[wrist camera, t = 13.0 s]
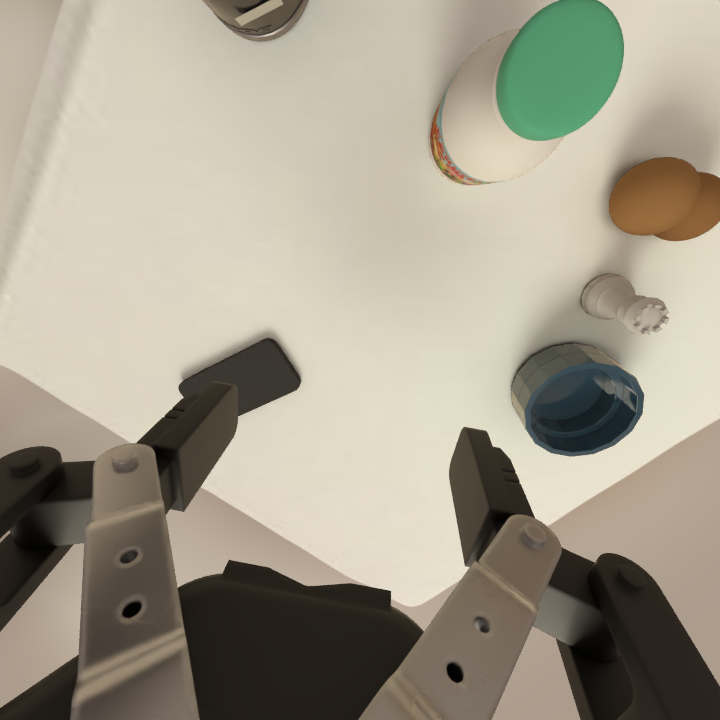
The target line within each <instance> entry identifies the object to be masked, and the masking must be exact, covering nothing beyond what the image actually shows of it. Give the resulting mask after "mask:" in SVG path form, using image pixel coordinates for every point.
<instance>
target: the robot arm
mask: <svg viewBox="0 0 720 720" xmlns="http://www.w3.org/2000/svg"><path fill="white" fill-rule="evenodd" d="M202 1H203V2H204V3H205V4H206V5H207V6H208V7H209V8H210V9H211V10H212V11H213V12H214V14H215V15H216V16H217V17H218V18H219V19H220V20H221V21H222V22H223V23H224V24H225V25H226V26H227V27H228V28H229V29H230V30H232V31H233V32H234V33H236V34H237V35H239V36H241V37H243V38H246V39H249V40H253V41H268V40H272V39H275V38H277V37H280V36H281V35H283V34H285V33H286V32H287V31H288V30H290V29H291V28H292V27H293V26H294V24H295V23H296V22H297V21H298V19H299V18H300V16H301V15H302V13H303V11H304V9H305V7H306V4H307V2H308V0H202ZM237 423H238V389H237V386H236V385H233V384H228V383H222V382H217V381H214V382H212V383H211V384H210V385H209V386H208V387H207V388H206V389H205V390H204V391H203V392H202V393H198V392H195V393H193V394H191V395H189V396H187V397H185V398H183V399H181V400H180V401H179V402H178V403H177V404H176V405H175V406H174V407H173V409H172V410H170V411H169V412H168V413H167V414H166V415H165V417H163V418H162V419H161V420H160V421H159V422H157V423H156V424H155V425H154V426H153V427H152V428H151V429H150V430H149V431H148V432H147V433H146V434H145V435H144V436H143V437H142V438H141V439H140V440H139V441H138V442H137V443H132V444H124V445H120V446H117V447H114V448H112V449H110V450H108V451H106V452H105V453H103V454H102V455H101V456H99V457H98V458H97V460H96V461H82V462H62V458H61V454H60V453H59V451H57V450H56V449H54V448H51V447H45V446H41V447H40V446H39V447H30V448H25V449H22V450H19V451H15V452H13V453H10V454H8V455H6V456H4V457H2V458H1V459H0V538H1V537H2V536H3V535H4V534H5V533H6V532H7V531H9V530H10V532H11V533H10V534H9V535H8V536H7V537H6V538H5V539H4V540H3V541H2V542H1V543H0V631H1V630H2V629H3V628H4V627H5V626H6V624H7V623H8V622H9V621H10V620H11V618H12V617H13V616H14V615H15V614H16V612H17V611H18V610H19V609H20V608H21V606H22V605H23V604H24V603H25V602H26V601H27V599H28V598H29V597H30V596H31V595H32V593H33V592H34V591H35V590H36V589H37V587H38V586H39V585H40V584H41V583H42V582H43V580H44V579H45V578H46V577H47V576H48V574H49V573H50V572H51V571H52V570H53V568H54V567H55V566H56V565H57V564H58V562H59V561H60V560H61V559H62V558H63V556H64V555H65V554H66V553H67V552H68V551H69V549H70V548H71V547H72V546H73V545H74V544H80V543H84V561H83V581H82V601H81V621H80V639H79V655H77V656H76V657H75V658H73V659H72V660H70V661H69V662H67V663H66V664H64V665H63V666H61V667H60V668H58V669H57V670H55V671H54V672H52V673H51V674H49V676H47V677H45V678H44V679H42V680H41V681H39V682H38V683H36V684H35V685H33V686H32V687H30V688H29V689H28V690H26V691H25V692H23V693H22V694H20V695H19V696H17V697H16V698H14V699H13V700H11V701H10V702H9V703H7V704H6V705H4V706H3V707H1V708H0V720H491V719H492V717H493V715H494V712H495V710H496V708H497V706H498V703H499V701H500V699H501V696H502V694H503V692H504V690H505V687H506V685H507V683H508V680H509V678H510V676H511V674H512V671H513V669H514V667H515V664H516V662H517V660H518V657H519V655H520V653H521V651H522V649H523V646H524V644H525V641H526V639H527V637H528V635H529V633H530V630H531V628H532V626H533V627H535V628H537V629H539V630H541V631H543V632H545V633H547V634H549V635H551V636H552V637H554V638H556V640H557V644H558V647H559V650H560V653H561V657H562V660H563V663H564V667H565V670H566V673H567V676H568V680H569V683H570V686H571V690H572V693H573V696H574V700H575V703H576V706H577V709H578V713H579V716H580V719H581V720H720V686H719V685H718V683H717V681H716V680H715V678H714V676H713V675H712V673H711V671H710V670H709V668H708V666H707V665H706V663H705V661H704V660H703V658H702V657H701V655H700V653H699V652H698V650H697V648H696V647H695V645H694V643H693V642H692V640H691V638H690V637H689V635H688V633H687V632H686V630H685V629H684V627H683V625H682V624H681V622H680V620H679V619H678V617H677V615H676V614H675V612H674V611H673V609H672V607H671V605H670V604H669V602H668V601H667V599H666V597H665V596H664V594H663V593H662V591H661V589H660V587H659V586H658V585H657V583H656V582H655V580H654V579H653V578H652V577H651V576H650V575H649V574H648V573H647V572H646V571H645V570H644V569H643V568H641V567H640V566H639V565H637V564H636V563H634V562H633V561H631V560H629V559H627V558H625V557H623V556H620V555H617V554H612V553H605V554H602V555H600V556H599V558H598V559H597V560H596V562H595V563H594V562H592V561H590V560H588V559H585V558H583V557H581V556H579V555H576V554H574V553H572V552H570V551H568V550H566V549H563V548H562V547H561V544H560V542H559V540H558V538H557V536H556V535H555V534H554V533H553V531H552V530H551V529H550V528H548V527H547V526H546V525H545V524H543V523H542V522H540V521H539V520H537V519H535V517H534V514H533V512H532V510H531V507H530V505H529V503H528V500H527V498H526V495H525V493H524V491H523V488H522V486H521V484H519V482H520V481H519V479H518V476H517V474H515V469H514V467H513V465H512V462H511V460H510V459H509V458H508V456H507V455H506V454H505V453H504V452H503V451H502V450H501V449H500V448H496V447H493V446H492V444H491V441H490V438H489V436H488V433H487V431H484V430H478V429H473V428H467V427H464V428H463V429H462V430H461V433H460V436H459V439H458V442H457V445H456V448H455V451H454V453H453V456H452V459H451V463H450V469H449V479H450V485H451V491H452V496H453V502H454V507H455V513H456V518H457V524H458V530H459V535H460V541H461V546H462V552H463V557H464V563H465V566H468V567H470V568H469V569H468V571H467V572H466V574H465V575H464V576H463V578H462V579H461V581H460V582H459V584H458V585H457V586H456V588H455V589H454V591H453V592H452V593H451V595H450V596H449V597H448V599H447V600H446V602H445V603H444V605H443V606H442V607H441V609H440V610H439V612H438V613H437V614H436V616H435V617H434V619H433V620H432V621H431V623H430V624H429V626H428V627H427V629H426V630H425V631H423V630H422V629H421V628H420V627H419V626H418V625H417V624H416V623H415V622H414V621H413V620H412V619H410V618H409V617H408V616H407V615H405V614H404V613H403V612H401V611H399V610H398V609H396V608H394V607H392V606H391V591H388V590H383V589H378V588H373V587H367V586H362V585H357V584H350V583H349V584H335V585H323V586H305V585H303V584H301V583H299V582H296V581H295V580H293V579H290V578H288V577H286V576H284V575H282V574H280V573H278V572H276V571H274V570H272V569H270V568H268V567H262V566H257V565H252V564H247V563H242V562H237V561H231V560H229V561H228V563H227V565H226V567H225V570H224V572H223V574H215V575H210V576H205V577H202V578H199V579H195V580H193V581H191V582H188V583H186V584H184V585H182V586H180V587H178V588H177V582H176V576H175V569H174V564H173V557H172V551H171V545H170V539H169V533H168V527H167V521H166V514H167V513H168V511H169V510H170V509H173V510H178V511H183V512H184V511H185V509H186V507H187V506H188V505H189V503H190V502H191V500H192V499H193V497H194V495H195V494H196V493H197V491H198V490H199V488H200V487H201V485H202V484H203V482H204V481H205V479H206V478H207V476H208V475H209V473H210V472H211V470H212V469H213V467H214V466H215V464H216V463H217V461H218V460H219V458H220V457H221V455H222V454H223V452H224V451H225V449H226V448H227V446H228V445H229V443H230V442H231V440H232V439H233V437H234V435H235V432H236V429H237Z"/></svg>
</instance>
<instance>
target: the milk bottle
mask: <svg viewBox="0 0 720 720" xmlns="http://www.w3.org/2000/svg"><path fill="white" fill-rule="evenodd" d="M623 56H624V42H623V35H622V31H621V28H620V25H619V23H618V21H617V19H616V17H615V16H614V14H613V13H612V11H611V10H610V9H609V8H608V7H606V6H605V5H604V4H603V3H601V2H599V1H597V0H559V1H557V2H554V3H552V4H550V5H548V6H546V7H545V8H543V9H542V10H540V11H539V12H537V13H536V14H535V15H534V16H533V17H532V18H531V19H530V20H529V21H528V22H527V23H526V24H525V25H524V26H523V27H522V28H521V29H517V30H512V31H509V32H506V33H503V34H501V35H499V36H496V37H494V38H492V39H491V40H489V41H487V42H486V43H485V44H483V45H482V46H481V47H479V48H478V49H477V50H476V51H475V52H474V53H473V54H472V55H471V56H470V57H469V58H468V59H467V60H466V61H465V62H464V63H463V65H462V66H461V67H460V69H459V70H458V72H457V73H456V75H455V76H454V78H453V79H452V81H451V83H450V85H449V86H448V88H447V90H446V92H445V94H444V96H443V98H442V100H441V102H440V104H439V106H438V108H437V111H436V113H435V115H434V117H433V120H432V123H431V127H430V131H429V152H430V156H431V159H432V162H433V164H434V166H435V168H436V169H437V170H438V172H439V173H440V174H441V175H442V176H443V177H444V178H446V179H447V180H449V181H451V182H453V183H456V184H459V185H481V184H490V183H497V182H502V181H506V180H509V179H513V178H516V177H518V176H521V175H523V174H525V173H527V172H528V171H530V170H531V169H533V168H535V167H536V166H538V165H539V164H540V163H541V162H543V161H544V160H545V159H546V158H547V157H548V156H549V155H550V154H551V153H552V152H553V151H554V150H555V148H556V147H557V146H558V145H559V143H560V142H561V140H562V139H563V137H564V136H565V135H567V134H569V133H571V132H573V131H575V130H577V129H579V128H580V127H582V126H583V125H584V124H586V123H587V122H588V121H589V120H591V119H592V118H593V117H594V116H595V115H596V114H597V113H598V111H599V110H600V109H601V108H602V107H603V105H604V104H605V103H606V101H607V100H608V98H609V97H610V95H611V93H612V92H613V90H614V88H615V85H616V83H617V81H618V78H619V75H620V72H621V68H622V63H623Z"/></svg>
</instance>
